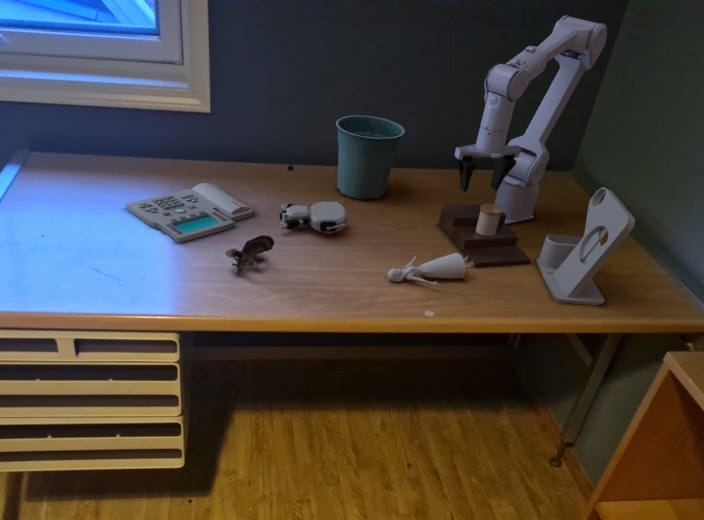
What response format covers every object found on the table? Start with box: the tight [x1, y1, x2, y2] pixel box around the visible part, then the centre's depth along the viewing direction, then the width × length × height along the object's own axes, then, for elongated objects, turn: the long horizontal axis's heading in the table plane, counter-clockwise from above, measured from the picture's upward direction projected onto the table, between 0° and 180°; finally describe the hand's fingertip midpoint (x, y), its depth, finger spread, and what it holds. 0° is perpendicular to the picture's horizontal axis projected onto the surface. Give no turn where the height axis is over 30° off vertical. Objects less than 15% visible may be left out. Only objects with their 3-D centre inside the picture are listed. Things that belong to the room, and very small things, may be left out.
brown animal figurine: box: [224, 234, 276, 276], centre depth 130 cm, size 8×7×9 cm
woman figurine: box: [387, 252, 474, 287], centre depth 133 cm, size 12×4×18 cm
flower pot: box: [335, 114, 406, 200], centre depth 161 cm, size 16×16×16 cm
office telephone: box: [125, 182, 254, 243], centre depth 147 cm, size 23×3×20 cm
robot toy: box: [278, 200, 348, 235], centre depth 147 cm, size 12×4×15 cm
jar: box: [476, 202, 503, 236], centre depth 144 cm, size 5×5×6 cm
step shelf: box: [437, 202, 532, 268], centre depth 146 cm, size 20×13×5 cm, turn 15°
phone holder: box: [535, 186, 636, 306], centre depth 132 cm, size 17×10×18 cm, turn 178°
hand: (478, 189), depth 146 cm, fingers open, 7 cm apart
